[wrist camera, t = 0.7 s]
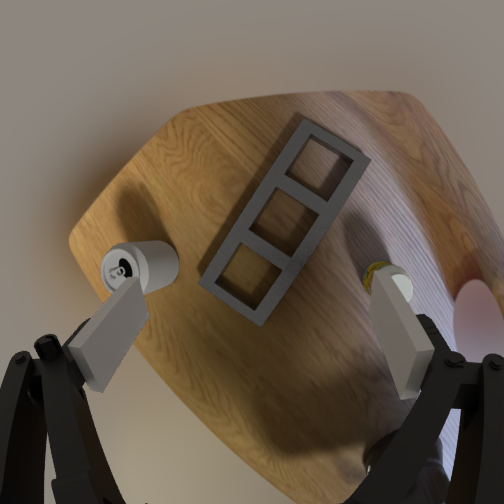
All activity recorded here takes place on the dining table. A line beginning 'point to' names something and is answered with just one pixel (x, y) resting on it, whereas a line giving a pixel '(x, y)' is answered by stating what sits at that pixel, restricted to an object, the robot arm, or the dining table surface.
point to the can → (140, 265)
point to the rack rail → (256, 206)
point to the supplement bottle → (395, 272)
